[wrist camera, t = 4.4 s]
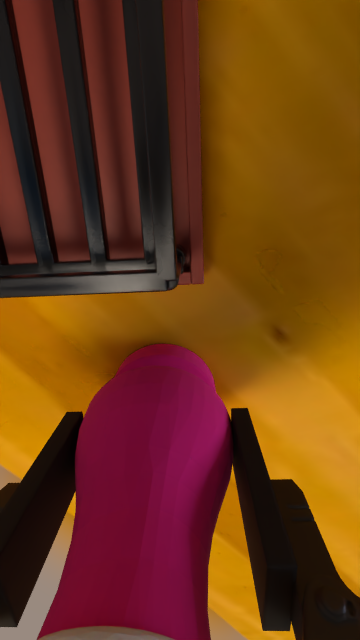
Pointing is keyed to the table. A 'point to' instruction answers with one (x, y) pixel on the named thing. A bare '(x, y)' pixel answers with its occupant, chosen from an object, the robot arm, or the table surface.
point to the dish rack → (99, 147)
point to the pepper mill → (145, 503)
